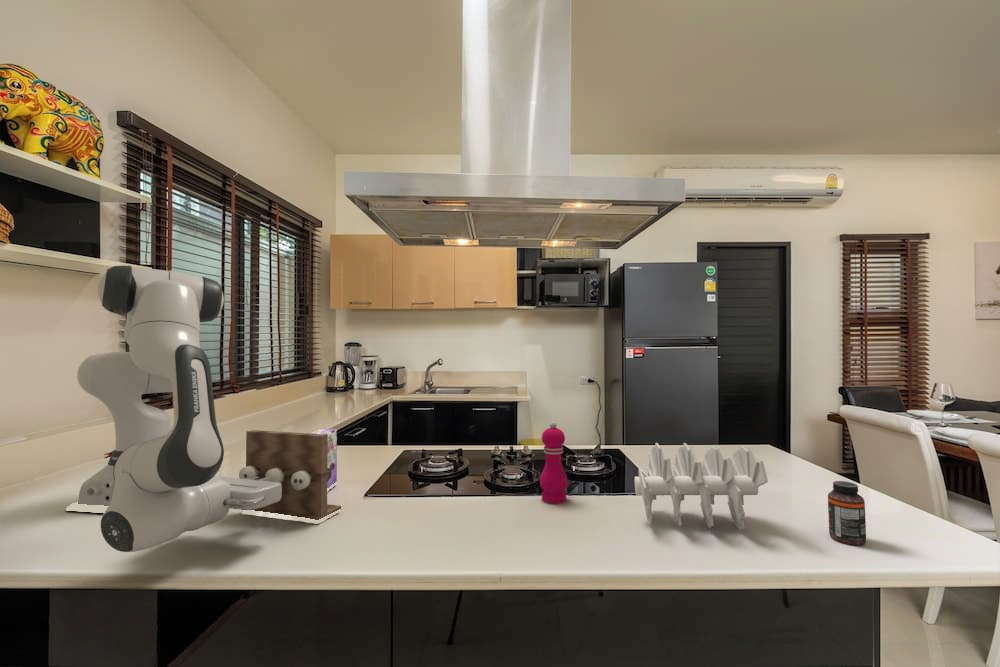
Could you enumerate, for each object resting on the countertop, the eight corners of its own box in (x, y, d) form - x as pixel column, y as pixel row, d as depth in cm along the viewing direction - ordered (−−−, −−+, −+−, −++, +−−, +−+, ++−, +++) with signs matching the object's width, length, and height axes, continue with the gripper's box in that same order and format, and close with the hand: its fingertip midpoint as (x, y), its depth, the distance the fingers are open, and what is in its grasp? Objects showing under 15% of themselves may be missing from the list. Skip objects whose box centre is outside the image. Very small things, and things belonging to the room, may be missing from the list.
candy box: (317, 501, 116) (317, 437, 116) (294, 501, 116) (295, 437, 116) (337, 485, 129) (337, 428, 130) (317, 485, 129) (317, 428, 130)
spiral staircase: (636, 531, 105) (751, 532, 101) (644, 524, 90) (780, 526, 86) (628, 453, 114) (733, 451, 109) (633, 434, 98) (756, 431, 94)
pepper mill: (567, 495, 119) (566, 419, 120) (568, 504, 112) (567, 424, 113) (540, 494, 120) (539, 419, 121) (539, 503, 113) (538, 424, 113)
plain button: (264, 486, 102) (265, 468, 103) (283, 479, 108) (283, 462, 108) (278, 487, 101) (279, 469, 101) (296, 481, 106) (297, 464, 107)
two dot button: (290, 489, 100) (290, 471, 100) (308, 482, 105) (308, 465, 105) (305, 491, 99) (305, 472, 99) (322, 483, 104) (322, 466, 104)
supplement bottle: (830, 531, 95) (828, 477, 95) (866, 539, 91) (864, 482, 91) (828, 541, 90) (826, 484, 90) (866, 549, 86) (864, 489, 87)
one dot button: (238, 483, 104) (238, 466, 105) (258, 477, 110) (258, 460, 110) (251, 485, 103) (252, 467, 103) (271, 478, 109) (271, 462, 109)
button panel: (241, 514, 107) (242, 432, 108) (268, 503, 114) (269, 426, 115) (318, 524, 100) (318, 437, 101) (341, 512, 108) (341, 430, 109)
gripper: (248, 488, 83) (302, 469, 97) (168, 480, 90) (229, 463, 103) (248, 523, 83) (302, 499, 96) (168, 512, 89) (228, 491, 103)
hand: (263, 480), depth 100 cm, fingers closed
